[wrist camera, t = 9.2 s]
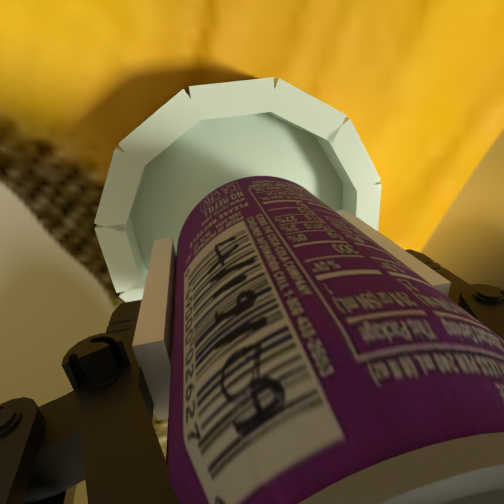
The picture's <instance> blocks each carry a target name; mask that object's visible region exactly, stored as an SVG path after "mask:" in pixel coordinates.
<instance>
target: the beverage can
mask: <svg viewBox="0 0 504 504" xmlns="http://www.w3.org/2000/svg"><path fill="white" fill-rule="evenodd" d="M166 463H167V466H168V477H169V480H170V484H171V486H172V488H173V490H174V492H175V494H176V496H177V498H178V500H179V502H180V504H504V341H503V340H502V339H501V338H500V337H499V336H498V335H497V334H495V333H494V332H493V331H492V330H490V329H489V328H488V327H486V326H485V325H484V324H482V323H481V322H480V321H478V320H477V319H476V318H474V317H473V316H472V315H471V314H469V313H468V312H467V311H465V310H464V309H463V308H461V307H460V306H459V305H457V304H456V303H455V302H454V301H452V300H451V299H450V298H448V297H447V296H446V295H444V294H443V293H442V292H440V291H439V290H438V289H436V288H435V287H434V286H433V285H431V284H430V283H429V282H427V281H426V280H425V279H423V278H422V277H421V276H419V275H418V274H417V273H415V272H414V271H413V270H412V269H410V268H409V267H408V266H406V265H405V264H404V263H402V262H401V261H400V260H398V259H397V258H396V257H394V256H393V255H392V254H391V253H389V252H388V251H387V250H385V249H384V248H383V247H381V246H380V245H379V244H377V243H376V242H375V241H373V240H372V239H371V238H370V237H368V236H367V235H366V234H364V233H363V232H362V231H360V230H359V229H358V228H356V227H355V226H354V225H353V224H351V223H350V222H349V221H347V220H346V219H345V218H343V217H342V216H341V215H339V214H338V213H337V212H335V211H334V210H333V209H332V208H330V207H329V206H328V205H326V204H325V203H324V202H322V201H321V200H320V199H318V198H317V197H316V196H314V195H313V194H312V193H311V192H309V191H308V190H307V189H305V188H304V187H302V186H300V185H298V184H297V183H295V182H292V181H290V180H287V179H283V178H279V177H273V176H251V177H245V178H241V179H237V180H234V181H231V182H229V183H226V184H224V185H222V186H220V187H218V188H217V189H215V190H214V191H212V192H211V193H209V194H208V195H207V196H205V197H204V198H203V199H202V200H201V201H200V202H199V203H198V204H197V205H196V206H195V207H194V209H193V210H192V211H191V213H190V214H189V216H188V217H187V219H186V221H185V222H184V225H183V227H182V229H181V232H180V235H179V239H178V244H177V253H176V273H175V293H174V313H173V333H172V353H171V373H170V393H169V413H168V434H167V454H166Z"/></svg>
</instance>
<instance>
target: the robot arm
mask: <svg viewBox="0 0 504 504" xmlns="http://www.w3.org/2000/svg"><path fill="white" fill-rule="evenodd" d="M335 212H337V213H338V214H339V215H341V216H342V217H343V218H345V219H346V220H347V221H349V222H350V223H351V224H353V225H354V226H355V227H356V228H358V229H359V230H360V231H362V232H363V233H364V234H366V235H367V236H368V237H370V238H371V239H372V240H373V241H375V242H376V243H377V244H379V245H380V246H381V247H383V248H384V249H385V250H387V251H388V252H389V253H391V254H392V255H393V256H394V257H396V258H397V259H398V260H400V261H401V262H402V263H404V264H405V265H406V266H408V267H409V268H410V269H412V270H413V271H414V272H415V273H417V274H418V275H419V276H421V277H422V278H423V279H425V280H426V281H427V282H429V283H430V284H431V285H433V286H434V287H435V288H436V289H438V290H439V291H440V292H442V293H443V294H444V295H446V296H447V297H448V298H450V299H451V300H452V301H454V302H455V303H456V304H457V305H459V306H460V307H461V308H463V309H464V310H465V311H467V312H468V313H469V314H471V315H472V316H473V317H474V318H476V319H477V320H478V321H480V322H481V323H482V324H484V325H485V326H486V327H488V328H489V329H490V330H492V331H493V332H494V333H495V334H497V335H498V336H499V337H500V338H501V339H502V340H503V341H504V290H503V289H500V288H498V287H494V286H490V285H483V284H473V285H469V284H468V283H466V282H465V281H463V280H462V279H460V278H459V277H457V276H456V275H454V274H453V273H451V272H450V271H448V270H447V269H445V268H442V266H440V265H439V264H438V263H436V262H434V261H433V260H431V259H430V258H429V257H427V256H426V255H424V254H422V253H419V252H416V251H413V250H410V249H409V250H404V249H402V248H401V247H399V246H398V245H397V244H395V243H394V242H392V241H391V240H389V239H388V238H387V237H385V236H384V235H382V234H381V233H379V232H378V231H376V230H375V229H374V228H372V227H371V226H369V225H368V224H366V223H365V222H364V221H362V220H361V219H359V218H358V217H356V216H355V215H354V214H352V213H351V212H349V211H348V210H346V209H344V210H337V211H335ZM175 273H176V250H175V246H174V242H173V237H171V238H165V239H159V240H154V245H153V250H152V254H151V259H150V264H149V268H148V273H147V278H146V283H145V287H144V292H143V297H142V300H136V301H131V302H125V303H121V304H120V305H119V306H118V308H117V309H116V310H115V311H114V312H113V313H112V316H111V318H110V321H109V326H108V327H107V330H106V333H102V334H97V335H94V336H90V337H88V338H86V339H84V340H82V341H80V342H78V343H77V344H76V345H75V346H73V347H72V348H71V349H70V350H69V351H68V352H67V354H66V355H65V356H64V358H63V362H62V367H63V369H64V371H65V373H66V375H67V377H68V379H69V381H70V383H71V385H72V387H73V389H74V390H73V391H72V392H70V393H68V394H66V395H64V396H62V397H60V398H58V399H56V400H53V401H51V402H49V403H47V404H44V405H42V406H40V407H38V406H37V404H36V403H35V402H34V400H33V399H29V398H25V397H23V398H17V399H12V400H10V401H7V402H5V403H2V404H0V504H73V501H74V495H75V489H76V484H78V483H79V482H81V481H83V480H86V488H87V496H88V504H180V502H179V500H178V498H177V496H176V494H175V492H174V490H173V488H172V486H171V484H170V480H169V477H168V466H167V463H166V460H165V457H164V455H163V452H162V449H161V446H160V444H159V441H158V438H157V435H156V433H155V430H154V427H153V424H152V419H153V409H154V411H155V414H156V417H157V420H161V419H165V418H168V413H169V393H170V373H171V353H172V333H173V313H174V293H175Z"/></svg>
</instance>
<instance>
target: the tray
mask: <svg viewBox="0 0 504 504" xmlns="http://www.w3.org/2000/svg"><path fill="white" fill-rule="evenodd" d="M188 89H189V93H188V94H187V93H186V92H185V90H184V89H182V90H181V91H180V92H179V93H177V94H176V95H175V96H174V97H173V98H172V99H170V100H169V101H168V102H167V103H166V104H164V105H163V106H162V107H161V108H160V109H158V110H157V111H156V112H155V113H154V114H153V115H151V116H150V117H149V118H148V119H147V120H145V121H144V122H143V123H142V124H141V125H139V126H138V127H137V128H136V129H135V130H134V131H132V132H131V133H130V134H129V135H128V136H126V137H125V138H124V139H123V140H122V141H120V142H119V143H118V145H119V146H118V147H116V148H115V149H114V153H113V156H112V160H111V164H110V167H109V171H108V175H107V178H106V182H105V185H104V189H103V193H102V196H101V200H100V203H99V207H98V211H97V214H96V218H95V221H94V224H97V225H96V227H95V228H94V229H95V232H96V235H97V238H98V241H99V244H100V247H101V250H102V253H103V256H104V258H105V261H106V264H107V267H108V270H109V273H110V276H111V279H112V282H113V285H114V288H115V291H116V293H118V292H120V295H119V297H120V298H121V299H122V300H124V301H125V302H131V301H136V300H142V297H143V292H144V287H145V283H146V278H147V273H148V268H149V264H150V259H151V254H152V250H153V245H154V240H159V239H165V238H171V237H173V242H174V246H175V250H176V253H177V244H178V239H179V235H180V232H181V229H182V227H183V225H184V222H185V221H186V219H187V217H188V216H189V214H190V213H191V211H192V210H193V209H194V207H195V206H196V205H197V204H198V203H199V202H200V201H201V200H202V199H203V198H204V197H205V196H207V195H208V194H209V193H211V192H212V191H214V190H215V189H217V188H218V187H220V186H222V185H224V184H226V183H229V182H231V181H234V180H237V179H241V178H245V177H251V176H273V177H279V178H283V179H287V180H290V181H292V182H295V183H297V184H298V185H300V186H302V187H304V188H305V189H307V190H308V191H309V192H311V193H312V194H313V195H314V196H316V197H317V198H318V199H320V200H321V201H322V202H324V203H325V204H326V205H328V206H329V207H330V208H332V209H333V210H334V211H337V210H344V209H346V210H348V211H349V212H351V213H352V214H354V215H355V216H356V217H358V218H359V219H361V220H362V221H364V222H365V223H366V224H368V225H369V226H371V227H372V228H374V229H375V230H376V231H378V222H379V210H380V197H381V185H382V184H381V183H378V181H379V180H381V179H380V177H379V175H378V173H377V171H376V169H375V167H374V165H373V163H372V161H371V159H370V157H369V155H368V153H367V151H366V149H365V147H364V145H363V143H362V141H361V139H360V137H359V135H358V133H357V131H356V129H355V127H354V125H353V123H352V121H351V119H348V118H346V116H347V115H345V114H344V113H342V112H340V111H338V110H336V109H335V108H333V107H331V106H329V105H327V104H325V103H324V102H322V101H320V100H318V99H316V98H314V97H313V96H311V95H309V94H307V93H305V92H303V91H302V90H300V89H298V88H296V87H294V86H292V85H291V84H289V83H287V82H285V81H283V80H281V79H280V78H278V79H274V77H271V78H261V79H252V80H243V81H233V82H224V83H215V84H205V85H196V86H189V87H188Z"/></svg>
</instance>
